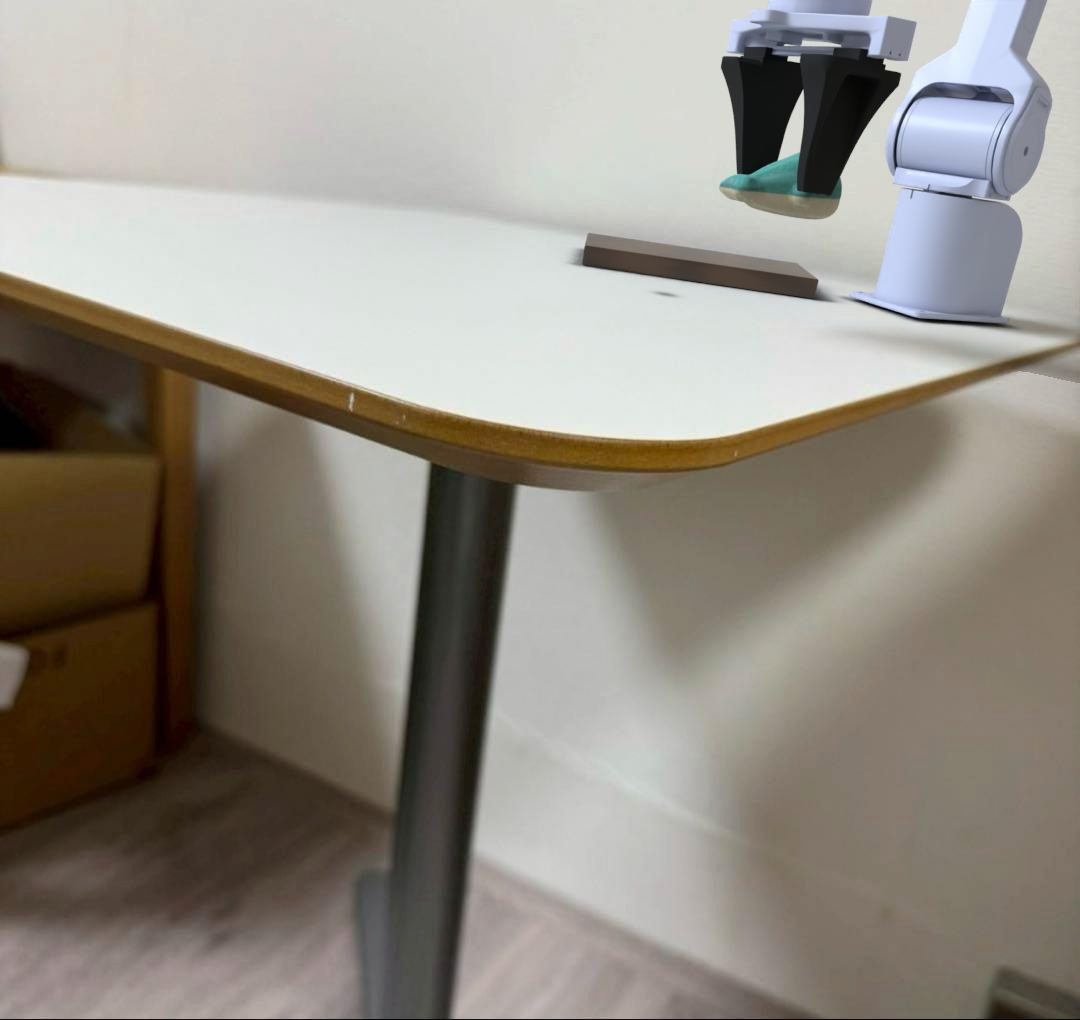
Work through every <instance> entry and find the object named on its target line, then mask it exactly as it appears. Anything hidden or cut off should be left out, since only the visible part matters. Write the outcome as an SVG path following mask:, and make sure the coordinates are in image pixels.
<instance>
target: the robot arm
mask: <svg viewBox="0 0 1080 1020" xmlns="http://www.w3.org/2000/svg"><path fill="white" fill-rule="evenodd" d="M1047 3H1048V0H970V4H969V7H968V9H967V12H966V16H965V18H964V21H963V24H962V27H961V30H960V33H959V36H958V38H957V42H956V43H955V45H954V46H953V47H951V48H950V49H948V50H947V51H946V52H944V53H942V54H941V55H939V56H937V57H935V58H934V59H933V60H931V61H929V62H928V63H926V64H924V65H923V66H921V67H920V68H918V70H916V71H915V73H914V76H913V79H912V81H911V84H910V86H909V88H908V91H907V92H906V94H905V97H904V98H903V100H902V102H901V103H900V105H899V106H898V107H897V109H896V110H895V112H894V113H893V115H892V117H891V120H890V122H889V125H888V128H887V132H886V137H885V143H884V145H885V146H884V155H885V160H886V164H887V167H888V170H889V172H890V173H891V175H892V176H893V179H892V184H893V185H898V186H904V187H900V188H899V191H898V195H897V199H896V203H895V208H894V211H893V212H894V213H893V216H892V219H891V220H892V221H891V223H890V224H891V225H890V228H889V233H888V237H887V241H886V245H885V249H884V252H883V257H882V261H881V265H880V268H879V273H878V277H877V282H876V285H875V290H874V292H869V291H855V290H851V291H849V295H848V296H849V297H850V298H853V299H855V300H858V301H863V302H866V303H869V304H871V305H874V306H877V307H881V308H885V309H887V310H891V311H894V312H897V313H900V314H903V315H906V316H910V317H912V318H918V319H929V320H943V321H959V322H960V321H961V322H974V323H989V324H1003V325H1004V324H1005V325H1006V324H1009V320H1010V318H1009V317H1007V316H1003V315H1002V313H1003V311H1004V306H1005V303H1006V299H1007V297H1008V293H1009V290H1010V289H1009V288H1010V285H1011V282H1012V279H1013V275H1014V272H1015V269H1016V265H1017V261H1018V258H1019V254H1020V251H1021V247H1022V243H1023V233H1024V232H1023V225H1022V220H1021V217H1020V215H1019V213H1018V212H1017V211H1016V210H1015V209H1014V208H1013V207H1012V206H1010V205H1009V204H1007V203H1004V202H1005V201H1006V202H1010V201H1011V198H1012V196H1014V195H1015V194H1018V192H1020V191H1021V190H1022V188H1024V187H1025V186H1026V185H1027V184H1028V183H1030V181H1031V179H1032V177H1033V176H1034V174H1035V172H1036V170H1037V168H1038V166H1039V164H1040V160H1041V158H1042V154H1043V151H1044V147H1045V140H1046V129H1047V125H1048V120H1049V117H1050V114H1051V111H1052V108H1053V97H1052V93H1051V90H1050V87H1049V85H1048V83H1047V82H1046V81H1045V79H1044V78H1043V77H1042V76H1041V74H1040V73H1039V72H1038V71H1037V70H1036V69H1035V68H1034V66H1033V65H1032V64H1031V63H1030V62H1029V60H1028V56H1029V53H1030V50H1031V48H1032V45H1033V43H1034V39H1035V37H1036V33H1037V32H1038V28H1039V26H1040V23H1041V20H1042V17H1043V14H1044V12H1045V8H1046V5H1047ZM872 5H873V0H768V3H767V8H753V9H751V11H750V16H749V17H744V18H739V19H738V18H737V19H732V20H731V25H730V29H729V35H728V41H727V46H726V51H725V52H726V53H728V54H734V56H733V55H723V56H722V57H721V64H720V70H721V73H722V75H723V77H724V80H725V83H726V87H727V90H728V94H729V98H730V103H731V108H732V109H731V110H732V115H733V123H734V124H733V125H734V126H733V127H734V134H735V135H734V139H735V140H734V141H735V164H736V166H735V167H736V174H743V175H750V174H752V173H754V172H756V171H757V170H759V169H761V168H763V167H765V166H767V165H769V164H771V163H774V162H776V161H779V158H780V154H781V150H782V146H783V142H784V138H785V135H786V131H787V128H788V126H789V122H790V119H791V117H792V115H793V112H794V110H795V107H796V105H797V103H798V100H799V99H800V97H801V95H802V93H803V127H802V136H801V143H800V149H799V152H800V155H799V162H798V170H797V191H801V192H807V193H816V194H824V195H832V193H833V191H834V189H835V187H836V185H837V183H838V180H839V178H841V176H842V174H843V172H844V170H845V168H846V166H847V164H848V162H849V160H850V158H851V156H852V153H853V151H854V149H855V147H856V146H857V145H858V142H859V141H860V139H861V137H862V135H863V133H864V131H865V130H866V128H867V127H868V125H869V124H870V122H871V120H872V119H873V118H874V117H875V115H876V114H877V112H878V111H879V110H880V108H881V107H882V106H883V105H884V103H885V102H886V100H888V98H889V97H890V96H891V95H892V94H893V93H894V92H895V90H896V89H897V88H898V87H899V85H900V82H901V79H902V73H901V72H899V71H895V70H889V69H886V67H887V65H886V64H885V63H884V62H885V60H887V61H893V62H908V61H909V58H910V53H911V49H912V45H913V41H914V37H915V34H916V33H915V32H916V29H917V21H915V20H910V19H906V18H900V17H896V16H892V15H870V14H871V9H872ZM803 41H805V42H818V43H828V44H835V45H839V46H827V45H826V46H824V45H822V46H821V45H820V46H819V45H817V46H815V45H802V44H803ZM735 55H736V56H735ZM738 55H740V56H738ZM789 57H797V58H798V57H799V62H798V61H792V60H789ZM1002 201H1004V202H1002Z"/></svg>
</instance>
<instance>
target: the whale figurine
mask: <svg viewBox="0 0 1080 1020" xmlns="http://www.w3.org/2000/svg"><path fill="white" fill-rule="evenodd" d="M799 155H800V151H799V152H796V153H794V154H792V155H789V156H787V157H784V158H781V159H778V161H776V162H774V163H771V164H769V165H767V166H765V167H763V168H761V169H759V170H757V171H756V172H754V173H752V174H750V175H743V174H737V173H736V174H732V175H731V176H729V177H726V178H725V179H723V180H722V181H721V182H720V184H719V186H718V190H719V191H720V193H721V194H722V195H723V196H724V197H726V198H727V199H729V200H733V201H737V202H740V203H744V204H745V205H747V206H748V207H749V208H752V209H754V210H757V211H761V212H765V213H768V214H769V213H770V214H773V215H779V216H783V217H789V218H796V219H803V220H814V221H815V220H825V219H827V218H829V217H832V216H833V215H834V214H835V213H836V212H837V210H838V208H839V206H840V202H841V198H842V193H843V191H842V190H843V183H842V178H841V177H840V178H839V180H838V183H837V185H836V187H835V189H834V191H833V193H832V195H824V194H816V193H807V192H801V191H797V170H798V162H799Z"/></svg>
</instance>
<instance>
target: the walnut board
mask: <svg viewBox="0 0 1080 1020" xmlns="http://www.w3.org/2000/svg"><path fill="white" fill-rule="evenodd" d="M582 253H583V254H582V262H581V265H582V266H588V267H594V268H601V269H608V270H614V271H620V272H627V273H635V274H641V275H646V276H647V275H649V276H655V277H661V278H667V279H676V280H681V281H689V282H695V283H703V284H710V285H717V286H722V287H731V288H736V289H743V290H751V291H756V292H757V291H758V292H762V293H763V292H764V293H770V294H777V295H783V296H784V295H785V296H791V297H797V298H805V299H811V300H814V299H815V298H816V294H817V290H818V286H819V279H818V278H817V277H816V276H815V275H813V274H812V273H810V272H809V271H808V270H807V269H805V267H804V266H802V265H800V264H799V263H798V262H792V261H785V260H779V259H771V258H765V257H758V256H751V255H744V254H739V253H738V254H737V253H730V252H723V251H716V250H711V249H702V248H697V247H689V246H682V245H675V244H670V243H664V242H663V243H661V242H655V241H649V240H641V239H634V238H627V237H621V236H613V235H607V234H601V233H593V232H588V233H587V234H586V239H585V243H584V248H583V252H582Z"/></svg>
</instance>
